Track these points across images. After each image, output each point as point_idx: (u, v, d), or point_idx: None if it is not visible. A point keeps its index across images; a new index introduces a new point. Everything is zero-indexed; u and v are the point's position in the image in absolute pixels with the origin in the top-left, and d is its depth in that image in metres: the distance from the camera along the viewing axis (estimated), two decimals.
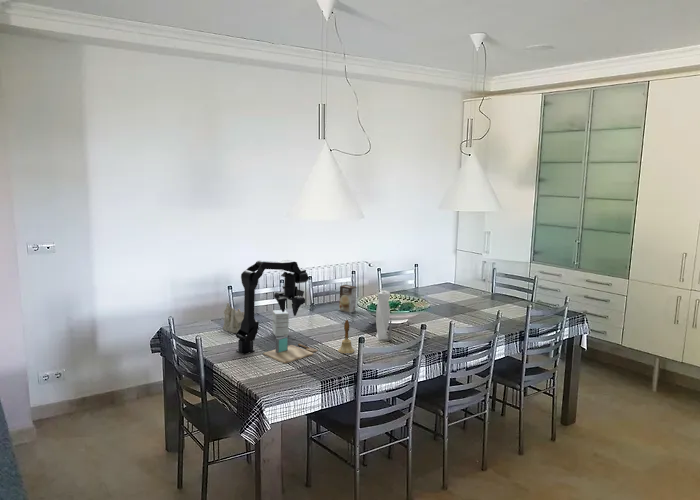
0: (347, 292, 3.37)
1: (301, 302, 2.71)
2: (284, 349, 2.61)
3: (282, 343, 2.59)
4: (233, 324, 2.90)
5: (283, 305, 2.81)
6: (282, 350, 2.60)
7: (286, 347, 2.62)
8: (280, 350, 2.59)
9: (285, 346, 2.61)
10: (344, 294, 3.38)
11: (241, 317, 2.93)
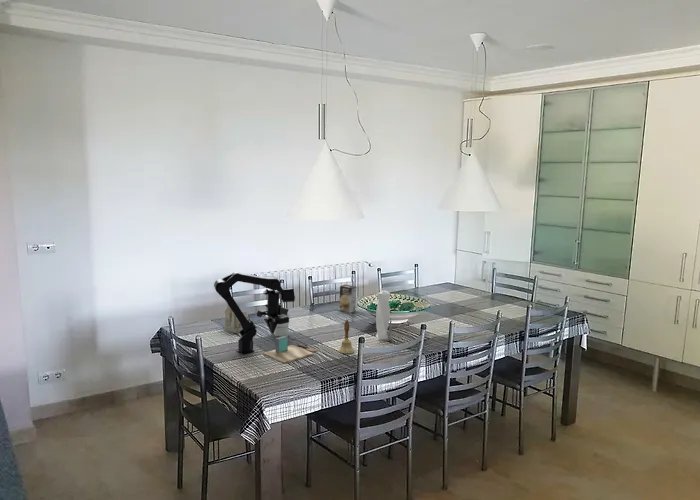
0: (347, 292, 3.37)
1: (285, 321, 2.57)
2: (284, 349, 2.61)
3: (282, 343, 2.59)
4: (234, 324, 2.90)
5: None
6: (282, 350, 2.60)
7: (286, 347, 2.62)
8: (280, 350, 2.59)
9: (285, 346, 2.61)
10: (344, 294, 3.38)
11: None
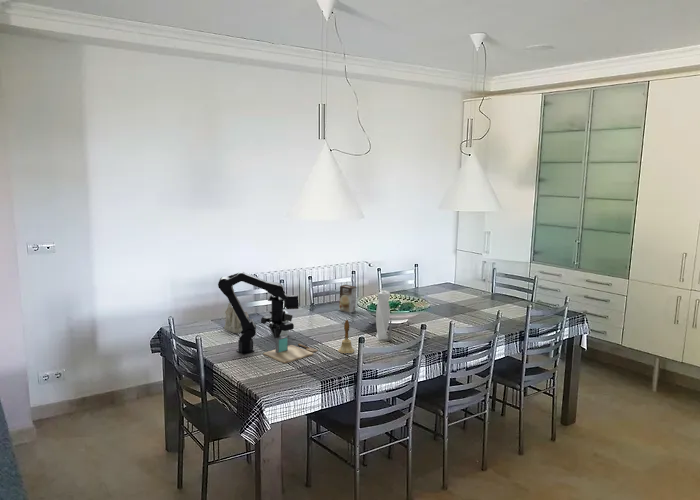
0: (347, 292, 3.37)
1: (289, 328, 2.56)
2: (284, 349, 2.61)
3: (282, 343, 2.59)
4: (234, 324, 2.90)
5: None
6: (282, 350, 2.60)
7: (286, 347, 2.62)
8: (280, 350, 2.59)
9: (285, 346, 2.61)
10: (344, 294, 3.38)
11: None
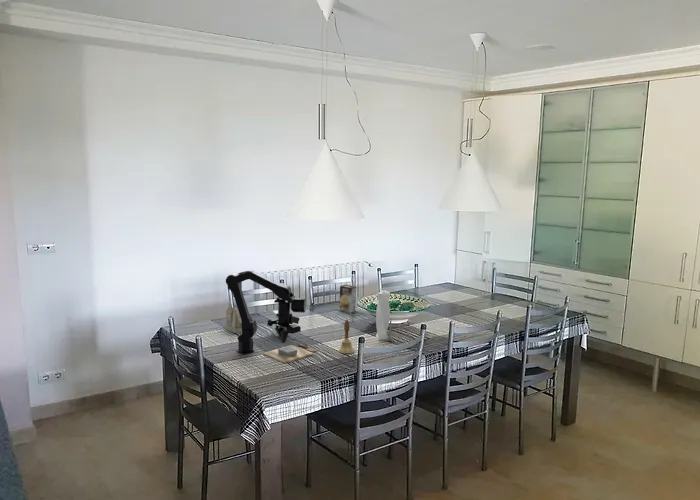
0: (347, 292, 3.37)
1: (296, 331, 2.52)
2: None
3: None
4: (235, 324, 2.90)
5: None
6: None
7: None
8: None
9: None
10: (344, 294, 3.38)
11: None
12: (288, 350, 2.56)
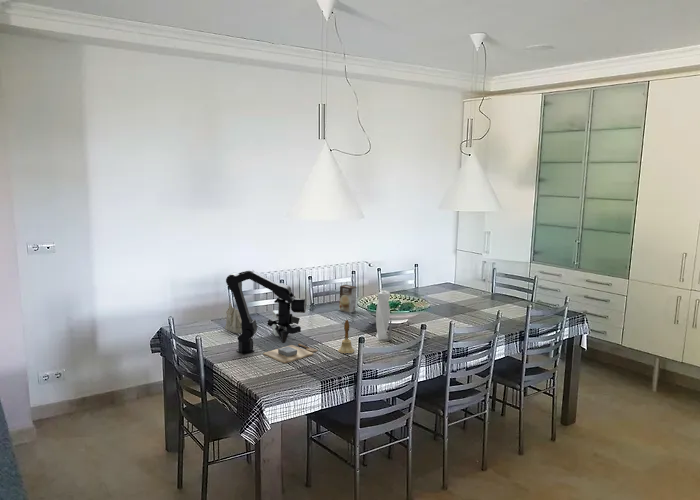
0: (347, 292, 3.37)
1: (296, 331, 2.52)
2: None
3: None
4: (235, 324, 2.90)
5: None
6: None
7: None
8: None
9: None
10: (344, 294, 3.38)
11: None
12: (288, 350, 2.56)
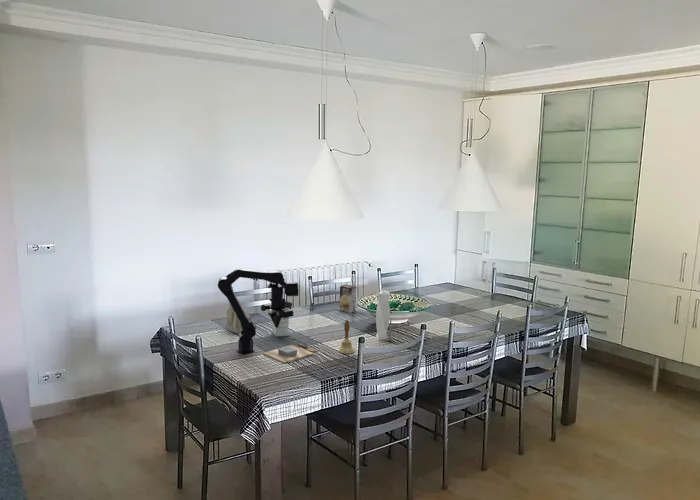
0: (347, 292, 3.37)
1: (289, 315, 2.55)
2: None
3: None
4: (236, 324, 2.90)
5: None
6: None
7: None
8: None
9: None
10: (344, 294, 3.38)
11: None
12: (288, 350, 2.56)
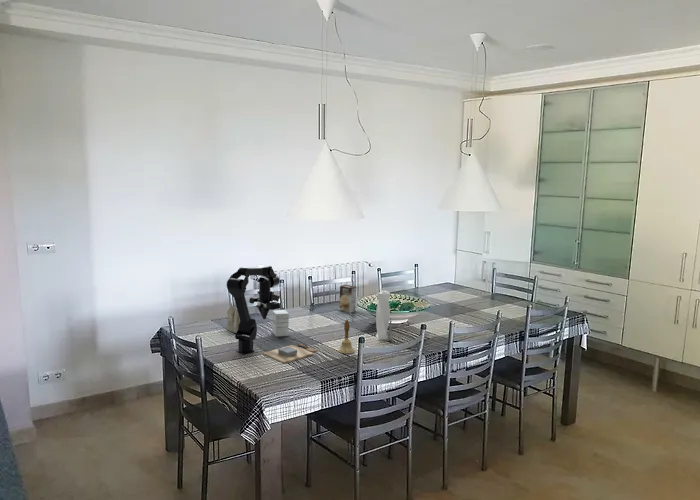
0: (347, 292, 3.37)
1: (276, 307, 2.68)
2: None
3: None
4: (237, 324, 2.90)
5: None
6: None
7: None
8: None
9: None
10: (344, 294, 3.38)
11: None
12: (288, 350, 2.56)
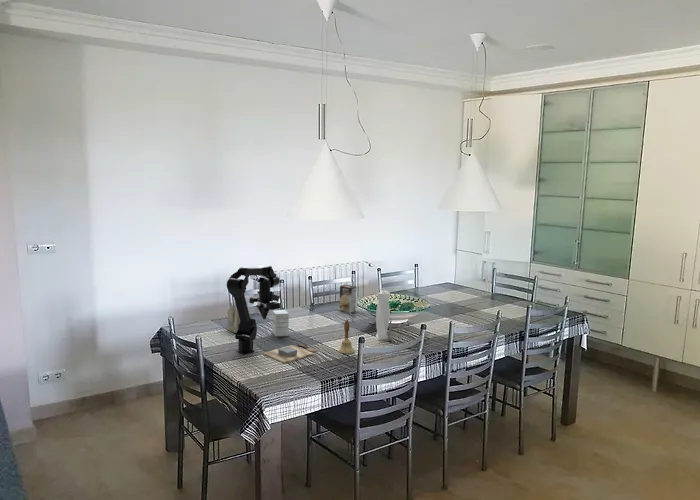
0: (347, 292, 3.37)
1: (276, 307, 2.68)
2: None
3: None
4: (237, 324, 2.90)
5: None
6: None
7: None
8: None
9: None
10: (344, 294, 3.38)
11: None
12: (288, 350, 2.56)
